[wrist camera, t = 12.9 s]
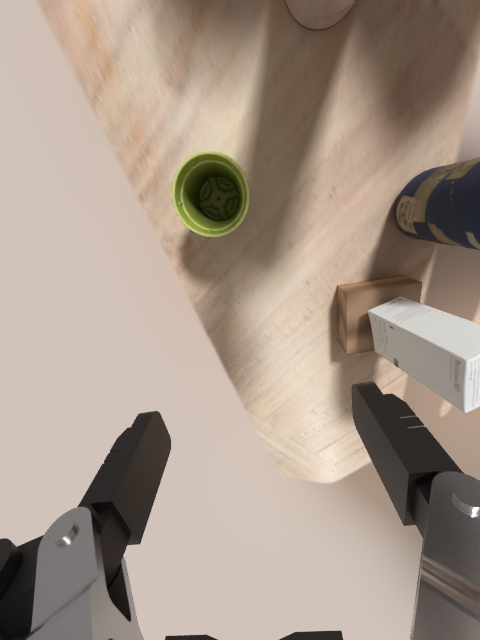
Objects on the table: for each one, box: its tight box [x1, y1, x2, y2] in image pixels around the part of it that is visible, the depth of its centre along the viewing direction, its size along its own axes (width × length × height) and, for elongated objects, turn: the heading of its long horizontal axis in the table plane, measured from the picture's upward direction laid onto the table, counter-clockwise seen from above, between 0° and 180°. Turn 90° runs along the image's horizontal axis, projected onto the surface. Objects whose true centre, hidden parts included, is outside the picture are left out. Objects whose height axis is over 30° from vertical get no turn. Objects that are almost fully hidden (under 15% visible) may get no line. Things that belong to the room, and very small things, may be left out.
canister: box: [395, 157, 480, 250], centre depth 29 cm, size 10×10×18 cm
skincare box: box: [368, 297, 480, 413], centre depth 33 cm, size 8×6×15 cm
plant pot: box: [172, 151, 250, 237], centre depth 34 cm, size 9×9×9 cm
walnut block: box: [337, 275, 422, 354], centre depth 42 cm, size 11×11×5 cm
